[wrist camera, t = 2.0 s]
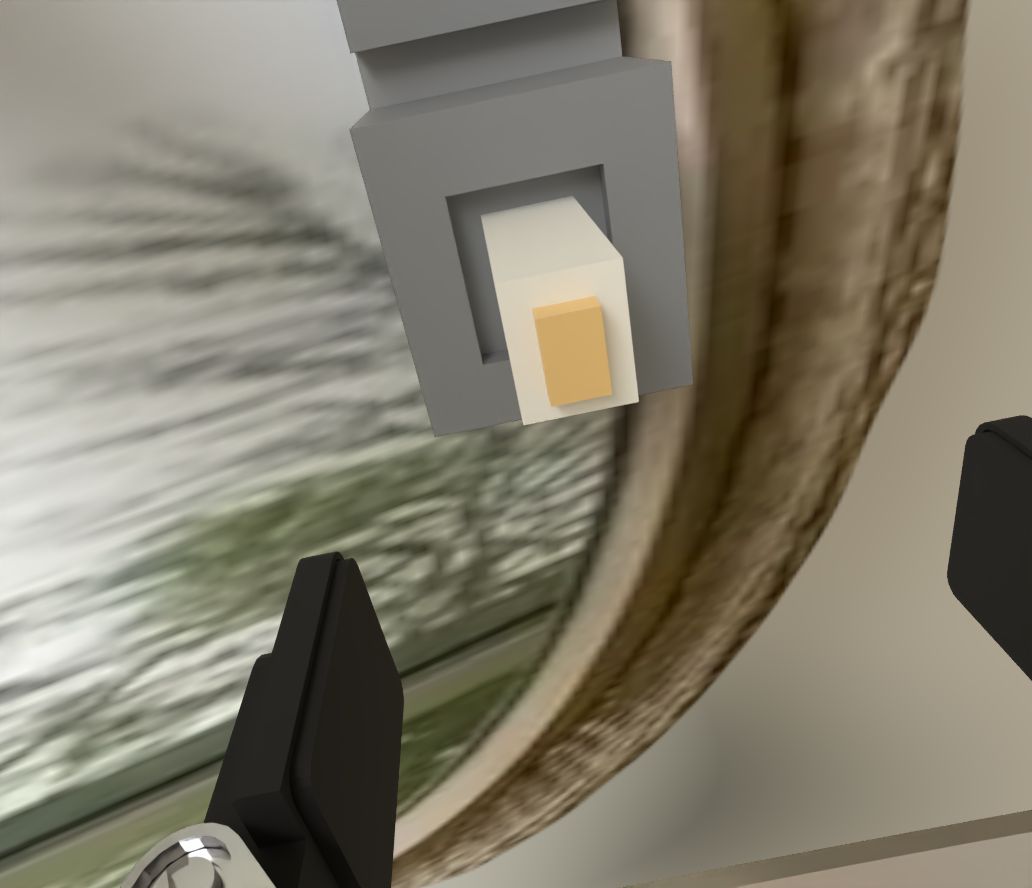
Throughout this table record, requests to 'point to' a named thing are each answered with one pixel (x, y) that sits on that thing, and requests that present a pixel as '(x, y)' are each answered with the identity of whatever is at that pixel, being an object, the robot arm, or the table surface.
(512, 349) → the plug
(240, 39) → the table surface
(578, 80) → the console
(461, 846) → the table surface
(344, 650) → the robot arm
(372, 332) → the table surface
